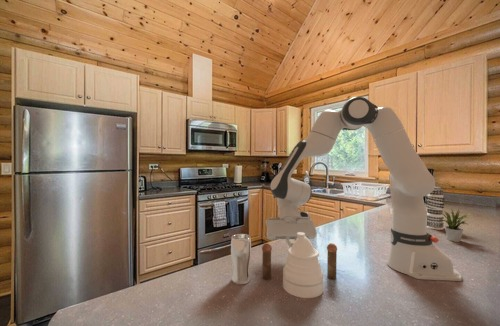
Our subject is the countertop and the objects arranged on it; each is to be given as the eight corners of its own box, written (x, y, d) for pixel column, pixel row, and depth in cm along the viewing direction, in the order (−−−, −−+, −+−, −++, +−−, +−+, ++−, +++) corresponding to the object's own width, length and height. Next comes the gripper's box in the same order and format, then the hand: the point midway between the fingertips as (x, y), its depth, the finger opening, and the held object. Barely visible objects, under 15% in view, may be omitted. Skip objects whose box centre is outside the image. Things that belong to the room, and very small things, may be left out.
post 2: (336, 275, 85) (336, 242, 84) (337, 280, 81) (337, 245, 81) (326, 274, 85) (326, 241, 85) (326, 279, 82) (327, 244, 82)
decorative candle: (425, 228, 144) (426, 187, 143) (424, 224, 151) (425, 185, 151) (444, 230, 138) (445, 188, 138) (443, 227, 146) (444, 186, 145)
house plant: (476, 248, 111) (476, 213, 111) (438, 242, 119) (438, 209, 119) (471, 240, 122) (472, 208, 122) (437, 234, 131) (438, 205, 131)
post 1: (272, 276, 84) (272, 242, 84) (270, 280, 81) (270, 246, 81) (263, 274, 85) (263, 241, 85) (260, 279, 82) (260, 245, 82)
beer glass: (248, 286, 77) (248, 240, 77) (228, 284, 79) (228, 239, 79) (252, 276, 84) (252, 234, 84) (233, 274, 86) (233, 233, 85)
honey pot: (316, 303, 69) (316, 241, 68) (276, 289, 75) (276, 233, 75) (327, 283, 79) (328, 230, 79) (291, 273, 86) (292, 224, 86)
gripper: (265, 213, 100) (267, 245, 90) (313, 213, 100) (320, 245, 91) (264, 221, 105) (266, 252, 95) (310, 221, 105) (317, 252, 95)
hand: (293, 248), depth 93 cm, fingers closed
